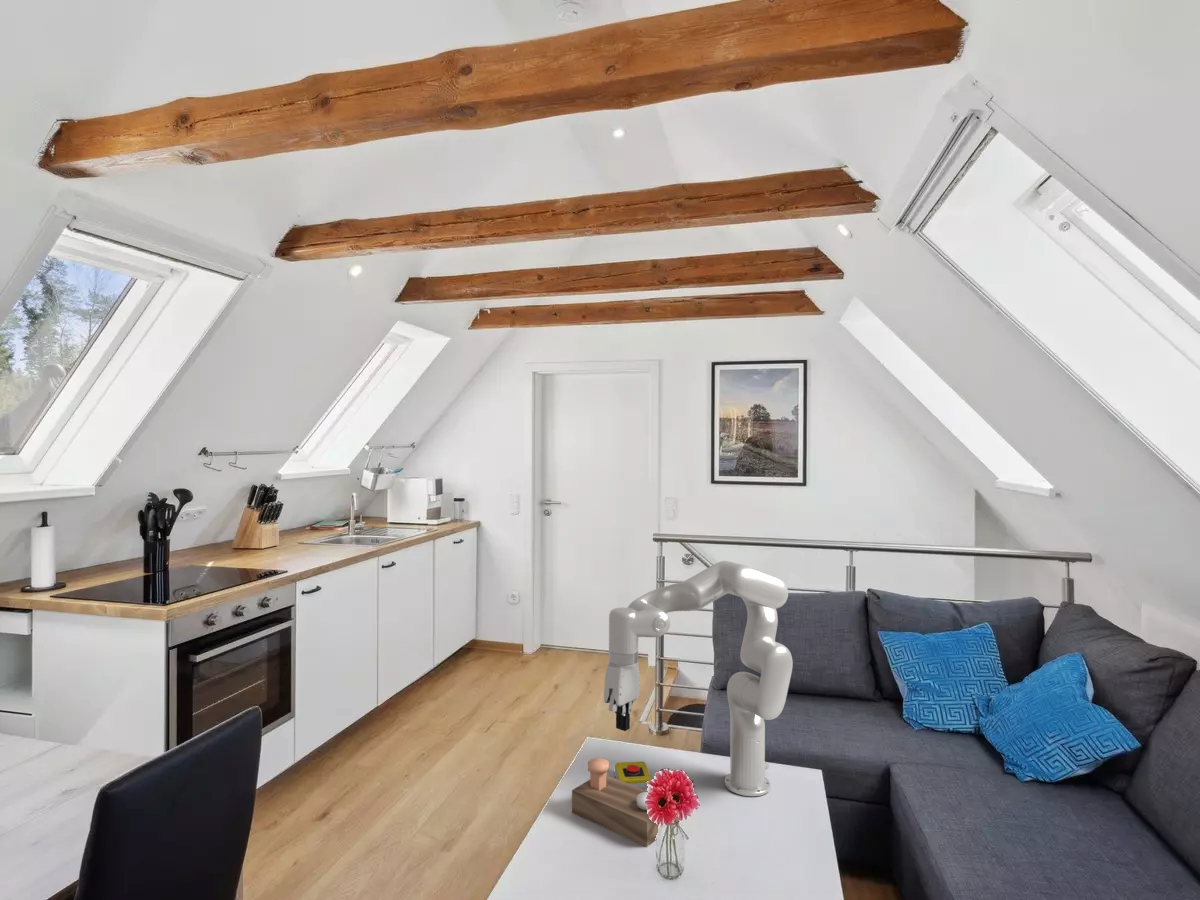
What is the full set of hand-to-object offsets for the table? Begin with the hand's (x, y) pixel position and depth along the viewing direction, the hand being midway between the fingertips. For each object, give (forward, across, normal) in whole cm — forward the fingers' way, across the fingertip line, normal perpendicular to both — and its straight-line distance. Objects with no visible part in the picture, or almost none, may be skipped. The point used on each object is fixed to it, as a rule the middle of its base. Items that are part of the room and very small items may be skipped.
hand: (622, 728), depth 174 cm
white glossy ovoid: (+23, 0, +8) cm, 24 cm away
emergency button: (+24, -19, -10) cm, 32 cm away
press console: (+23, 0, 0) cm, 23 cm away
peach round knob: (+19, -1, -8) cm, 21 cm away
